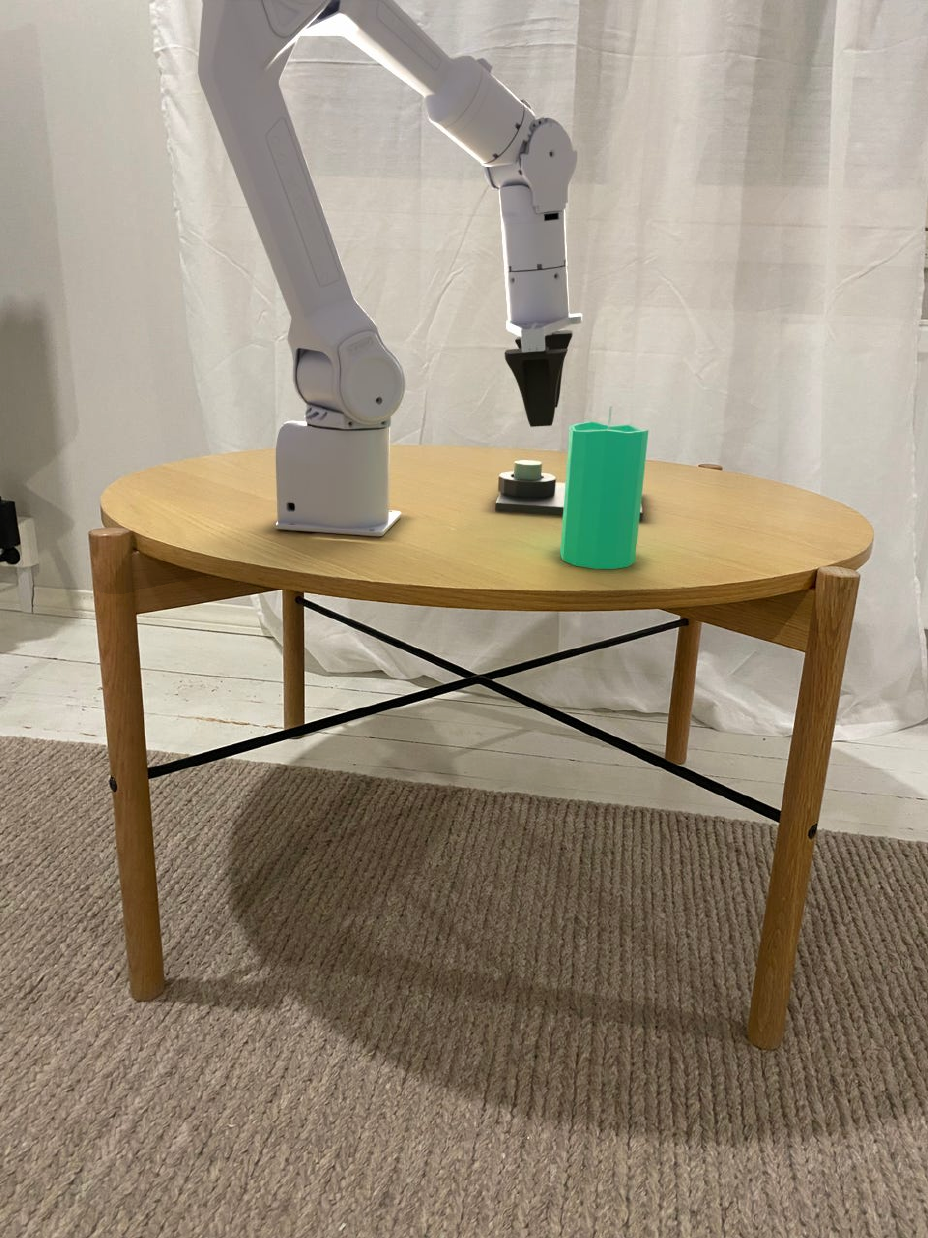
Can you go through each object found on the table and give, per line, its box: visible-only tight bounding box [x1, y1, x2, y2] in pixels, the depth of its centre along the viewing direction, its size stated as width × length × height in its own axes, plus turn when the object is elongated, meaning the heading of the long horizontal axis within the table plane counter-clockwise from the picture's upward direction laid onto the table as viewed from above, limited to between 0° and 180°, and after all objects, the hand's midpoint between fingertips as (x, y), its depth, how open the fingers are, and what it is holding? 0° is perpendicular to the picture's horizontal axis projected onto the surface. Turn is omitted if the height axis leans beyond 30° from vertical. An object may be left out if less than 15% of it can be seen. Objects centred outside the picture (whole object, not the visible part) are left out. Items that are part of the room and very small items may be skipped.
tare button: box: [513, 459, 543, 480], centre depth 93 cm, size 3×3×2 cm
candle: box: [559, 406, 649, 570], centre depth 72 cm, size 6×6×12 cm
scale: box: [494, 470, 644, 522], centre depth 93 cm, size 14×12×2 cm
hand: (544, 416), depth 90 cm, fingers open, 7 cm apart
